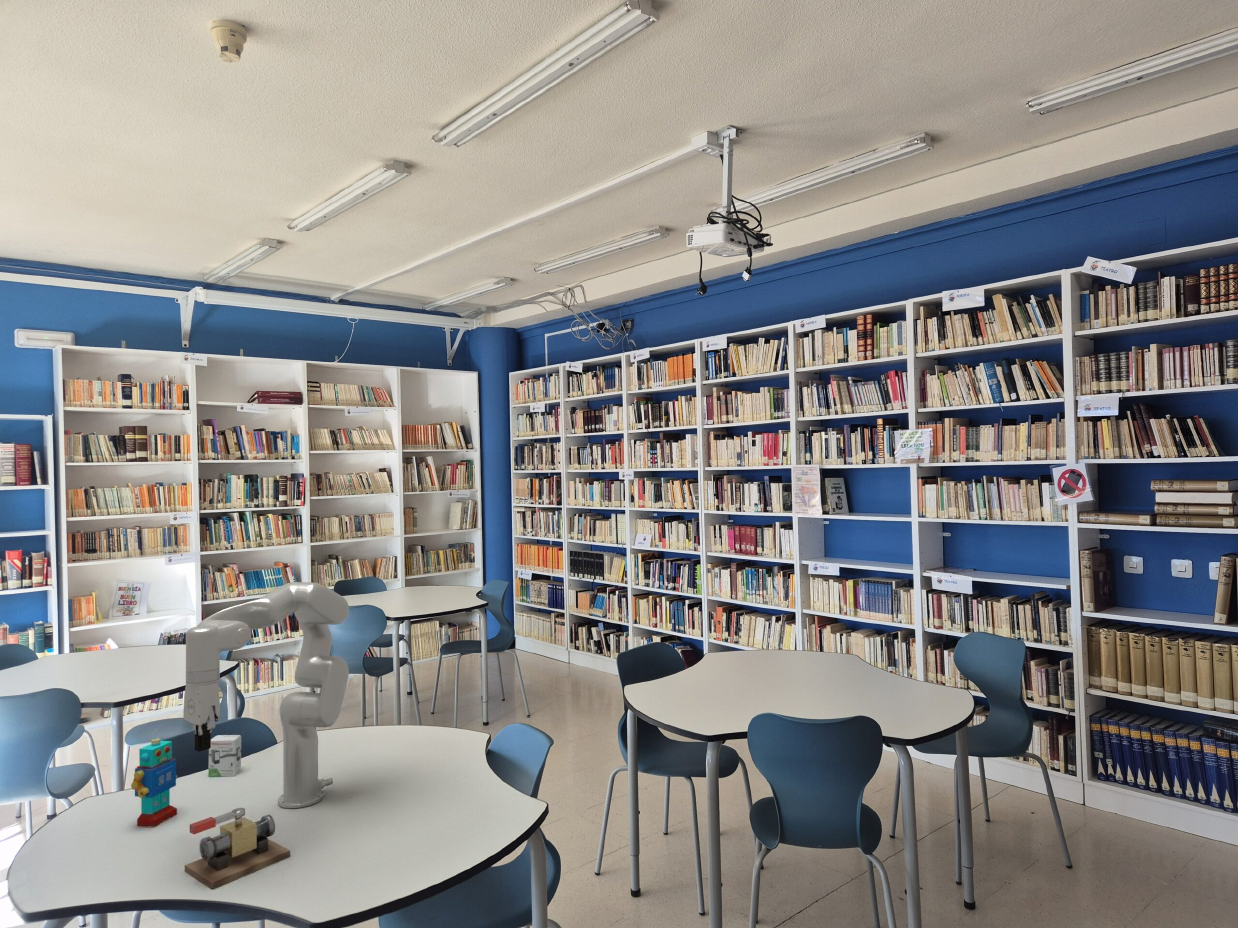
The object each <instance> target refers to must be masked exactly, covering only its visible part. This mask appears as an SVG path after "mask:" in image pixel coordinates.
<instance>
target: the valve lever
mask: <svg viewBox="0 0 1238 928" xmlns="http://www.w3.org/2000/svg"><path fill="white" fill-rule="evenodd" d="M245 815H246V808H244V807H237V808H235V809H233V810H231V811H228V812H227V813H223V814H220V815H217V816H214V817H212V816H210V817H207V818H205V819H202V820H198V821H196V822H193V823H189V834H192V835H197V834H199V833H202V832H204V831H208V830H210V829H214V828H216V827H217V826H216V825H220V824H222V823H225V822H228V821H230V820H235V818H239V817H242V818H243V817H245Z"/></svg>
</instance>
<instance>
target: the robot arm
mask: <svg viewBox="0 0 1238 928" xmlns="http://www.w3.org/2000/svg"><path fill="white" fill-rule="evenodd" d="M292 614H294V616H295V618H296V620H297V622H298V624H299V625H300V628H301V631H302V636H303V637H302V644H301V648H300V652H299V656H298V660H297V662H296V663H297V664H296V667H295V672H294V681H295V684H296V685H298V686H300V687H303V688H311V689H321V691H320V692H315V691H313V692H312V691H311V692H310V691H295V692H294V691H293V692H291V693H288V694H287V695H286V696H284V697H283V699H282V700H281V703H280V705H279V719H280V722H281V723H280V724H281V726H282V727H281V728H282V739H283V743H282V744H283V756H282V757H283V777H282V778H283V781H282V782H283V784H282V785H283V789H282V791H283V793H282V794H281V795H280V796H278V799H277V804H278V806H279V807H280V808H283V809H297V808H299V809H300V808H304V807H308V806H311V805H314V804H316V803H319V802H320V801H322V799H323V798H324V793H325V792H324V790H323V789H324V788H325V787H328V786H331V785H333V784H334V780H333V778H332V777H329V778H326V779H325V778H323V777H322V778H320V779H319V735H318V732H317V729H316V728H329V727H331V726H333V725H334V724H335V723H336V722H337V720H338V718H339V717H340V714H341V710H342V706H343V701H344V698H345V693H346V689H347V686H348V680H349V675H350V674H349V673H350V671H349V665H348V662H347V661H346V660H345V659H344V658H342V657H340V656H332V655H331V650H332V647H333V636H332V633H331V630H330V628H329V626H328V625H331V626H332V625H333V626H335V625H340V624H343V623H344V622H345V621H346V620H347V618H348V617H349V614H350V605H349V603H348V601H347V599H346V598H345V597H344V596H342V595H340V594H339V593H337V592H336V591H334V590H333V589H330V588H329V587H327V586H325V585H323V584H322V583H318V582H310V581H308V582H306V581H305V582H303V581H301V582H300V581H291V582H288V583H284V584H283V585H281V586H280V587H279V586H278V587H277V588H275V589H274V590H272V591H271V592H270V591H269V592H268V593H267V594H265V595H262V596H261V597H258V598H257V599H253V600H249V601H246V602H244V603H240V604H237V605H233V606H230V607H227V608H224V609H222V610H220V611H217V612H215V613H213V614H212V615H209V616H208V617H206V618H204V619H203V620H201V621H200V622H199V623H198V624H197V625H196V626H194V627H191V628H189V629H187V631H186V634H185V687H184V688H185V689H184V694H183V695H184V697H183V711H182V713H183V714H182V715H183V720H184V721H186V722H188V723H190V724H192V725H193V733H194V751H196V752H203V751H206V750H209V749H210V748H211V739H212V736H211V735H212V732H213V731H212V730H213V729H215V728H216V722H218V721H219V720H220V716H221V715H220V713H221V703H220V702H221V701H220V689H219V681H220V679H221V677H220V676H221V670H220V669H221V664H220V663H221V661H220V659H221V653H222V652H230V651H231V652H232V651H238V650H240V649H242V648H244V647H245V646H246V645H247V644H248V643H249V641H250V640H251V638H252V631H253V630H260V629H265V628H270V627H272V626H274V625H277V624H278V623H279V622H281V621H283V620H284V619H285V618H287V617H289V616H291V615H292Z"/></svg>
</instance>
